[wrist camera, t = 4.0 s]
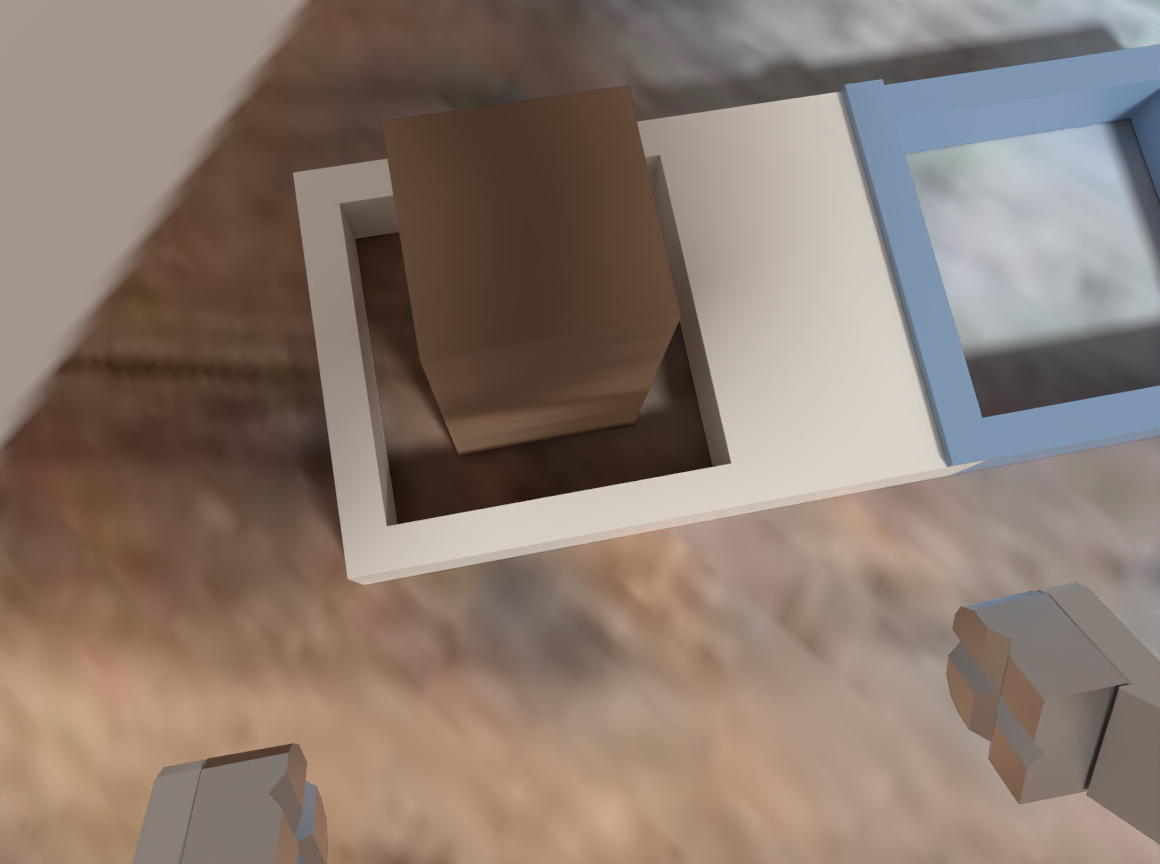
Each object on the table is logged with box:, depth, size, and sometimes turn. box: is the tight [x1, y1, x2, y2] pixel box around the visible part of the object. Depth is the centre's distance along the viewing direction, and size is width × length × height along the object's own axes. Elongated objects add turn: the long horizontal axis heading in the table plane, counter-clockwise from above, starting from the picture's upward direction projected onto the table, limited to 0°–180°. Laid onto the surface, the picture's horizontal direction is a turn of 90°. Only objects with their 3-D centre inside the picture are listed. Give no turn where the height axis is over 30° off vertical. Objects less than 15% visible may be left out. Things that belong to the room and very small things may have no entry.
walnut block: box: [381, 86, 681, 456], centre depth 20 cm, size 4×4×8 cm
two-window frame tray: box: [293, 44, 1160, 585], centre depth 23 cm, size 25×10×2 cm, turn 101°
